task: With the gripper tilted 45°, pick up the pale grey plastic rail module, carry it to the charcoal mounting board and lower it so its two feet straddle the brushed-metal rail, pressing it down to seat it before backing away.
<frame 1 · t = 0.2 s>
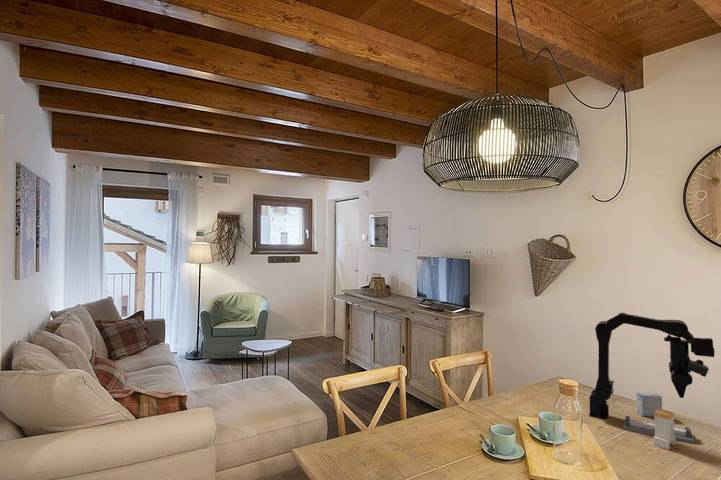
hand: (680, 393, 160), 15 cm above the table, tool pointing down, fingers open, 9 cm apart
rail module: (664, 444, 150), on the table
medicine box: (649, 415, 176), on the table
mounting board: (656, 432, 160), on the table
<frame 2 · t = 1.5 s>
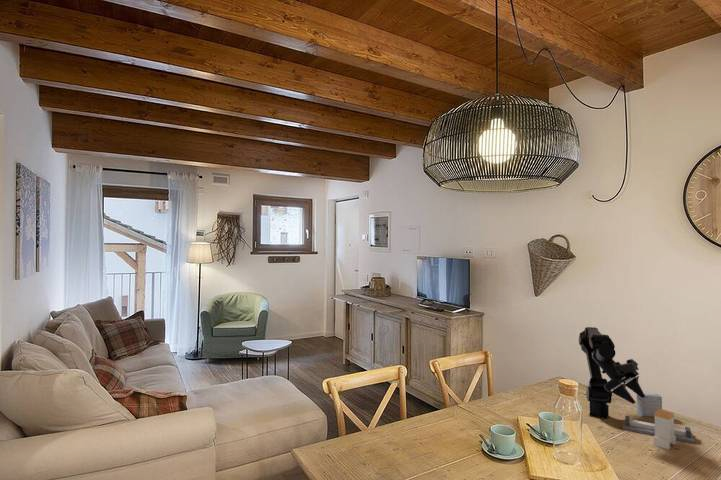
hand: (639, 400, 157), 13 cm above the table, tool tilted 45°, fingers open, 9 cm apart
nothing on the table moved.
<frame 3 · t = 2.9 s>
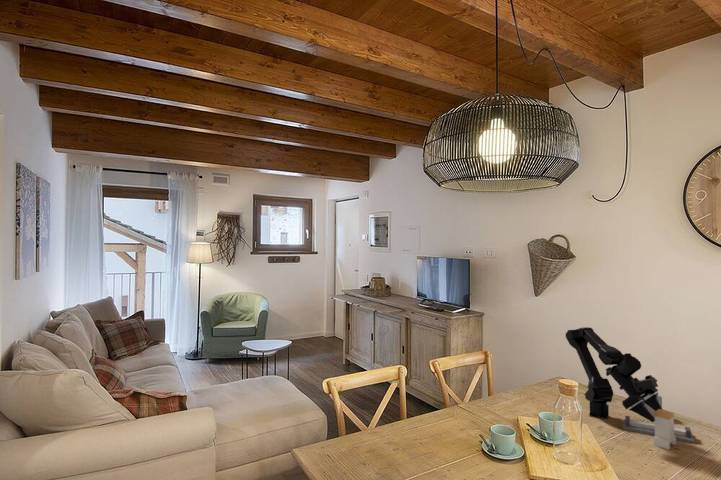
hand: (659, 418, 151), 9 cm above the table, tool tilted 45°, fingers open, 9 cm apart
nothing on the table moved.
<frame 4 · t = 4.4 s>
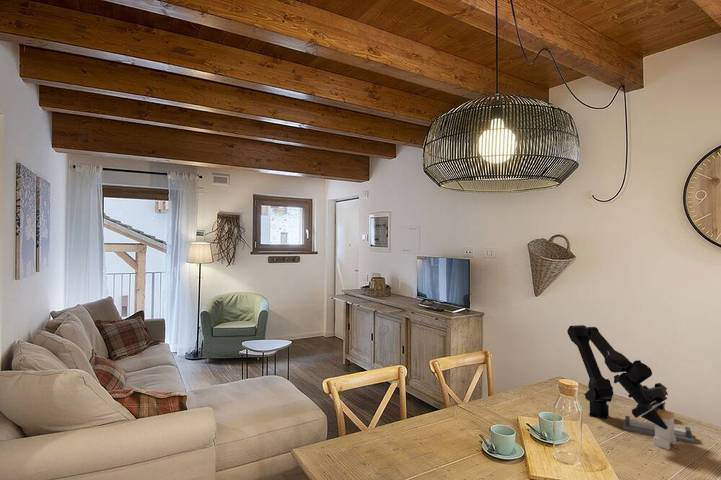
hand: (669, 427, 149), 7 cm above the table, tool tilted 45°, fingers closed on rail module, 4 cm apart
rail module: (664, 443, 150), on the table, touching gripper
everything else where it was.
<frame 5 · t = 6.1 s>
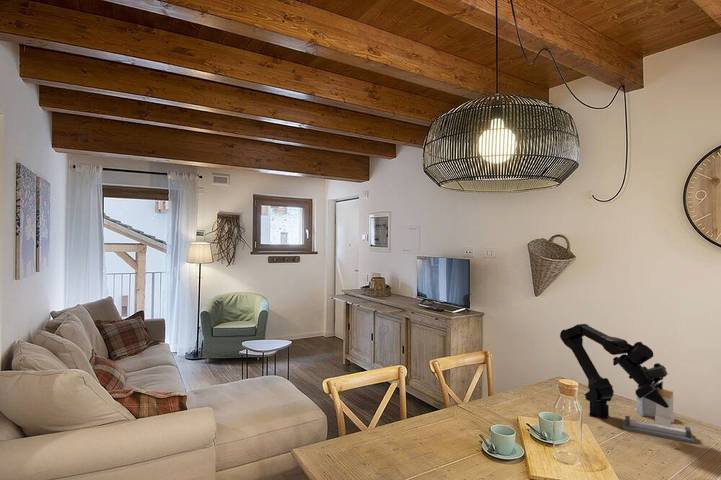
hand: (669, 405, 153), 13 cm above the table, tool tilted 45°, fingers closed on rail module, 4 cm apart
rail module: (664, 422, 154), point 6 cm above the table, touching gripper
everything else where it was.
when the fingers open (8 cm above the table, at t = 8.1 s): rail module stays where it is, resting on mounting board.
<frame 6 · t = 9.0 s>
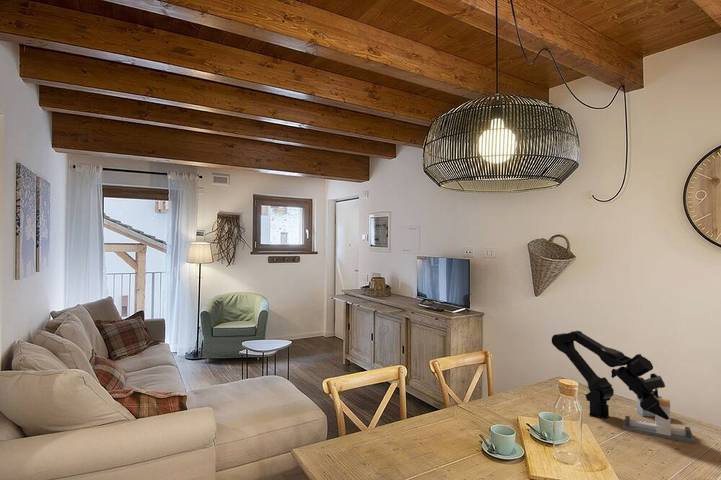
hand: (667, 414, 158), 7 cm above the table, tool tilted 45°, fingers open, 9 cm apart
rail module: (662, 430, 159), point 1 cm above the table, touching mounting board
everything else where it was.
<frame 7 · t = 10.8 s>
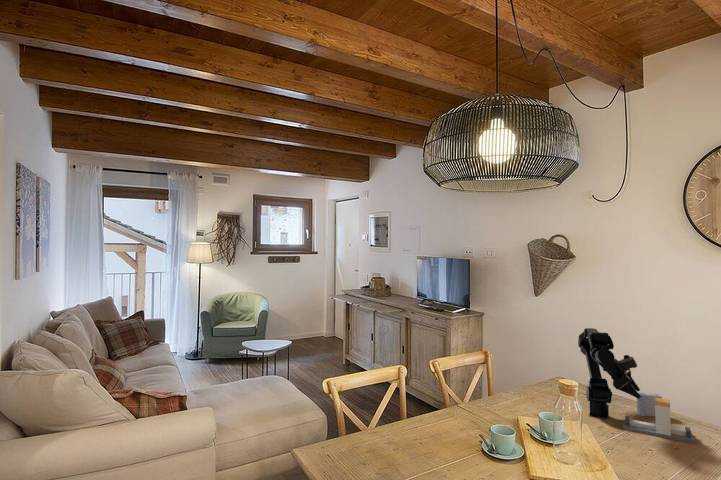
hand: (639, 394, 163), 14 cm above the table, tool tilted 45°, fingers open, 9 cm apart
nothing on the table moved.
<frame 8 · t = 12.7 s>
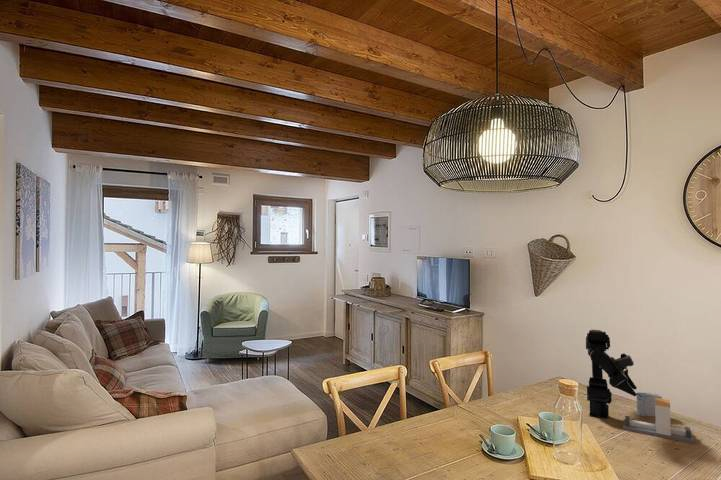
hand: (636, 392, 165), 14 cm above the table, tool tilted 45°, fingers open, 9 cm apart
nothing on the table moved.
at the end: rail module inside the target area on the mounting board (0.9 cm from its centre), point 1.0 cm above the mounting board's base; rail module tilted 0°; the gripper is holding nothing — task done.
